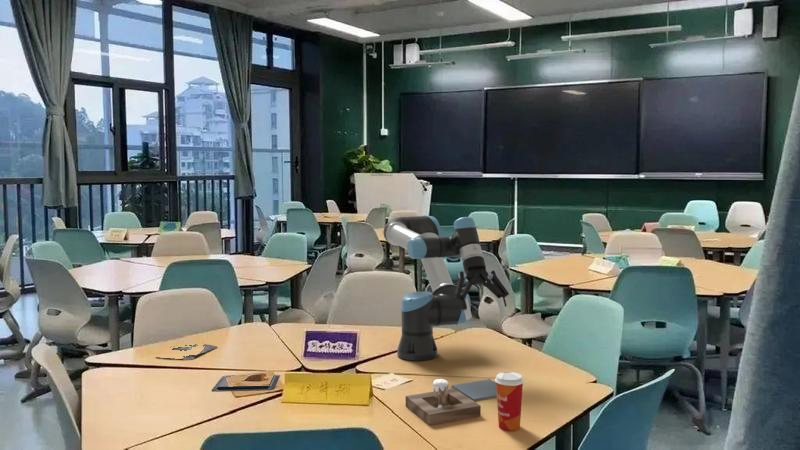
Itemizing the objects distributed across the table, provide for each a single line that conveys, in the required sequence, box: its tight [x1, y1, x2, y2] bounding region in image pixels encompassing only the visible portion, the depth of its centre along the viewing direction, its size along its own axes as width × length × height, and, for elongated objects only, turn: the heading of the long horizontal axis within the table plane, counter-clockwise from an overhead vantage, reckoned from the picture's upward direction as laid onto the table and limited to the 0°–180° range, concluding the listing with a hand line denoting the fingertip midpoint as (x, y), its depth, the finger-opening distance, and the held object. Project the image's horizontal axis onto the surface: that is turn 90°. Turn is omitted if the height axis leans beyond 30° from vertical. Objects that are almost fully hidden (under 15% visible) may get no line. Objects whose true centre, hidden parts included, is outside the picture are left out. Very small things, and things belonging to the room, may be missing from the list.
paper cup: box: [494, 371, 525, 432], centre depth 171 cm, size 8×8×14 cm
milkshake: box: [432, 378, 451, 408], centre depth 183 cm, size 4×5×10 cm
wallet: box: [211, 374, 281, 393], centre depth 210 cm, size 20×2×15 cm
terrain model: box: [172, 343, 219, 361], centre depth 248 cm, size 20×15×3 cm
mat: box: [451, 378, 497, 402], centre depth 200 cm, size 14×14×1 cm
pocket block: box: [405, 387, 482, 426], centre depth 183 cm, size 16×16×3 cm
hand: (487, 317), depth 213 cm, fingers open, 13 cm apart
